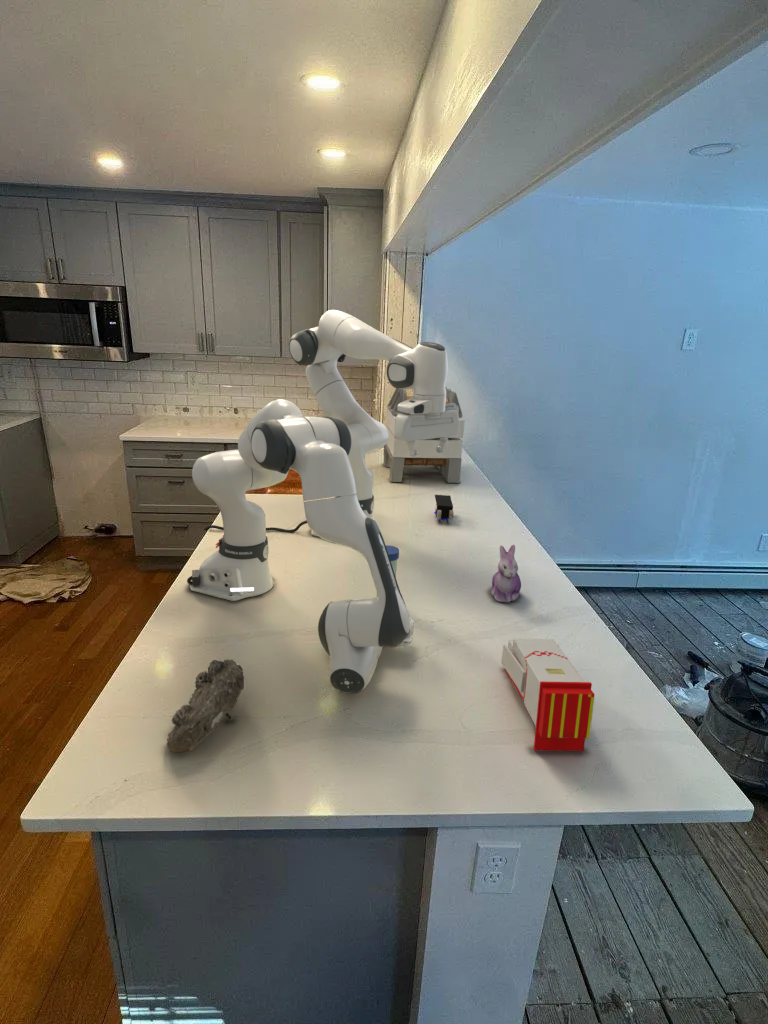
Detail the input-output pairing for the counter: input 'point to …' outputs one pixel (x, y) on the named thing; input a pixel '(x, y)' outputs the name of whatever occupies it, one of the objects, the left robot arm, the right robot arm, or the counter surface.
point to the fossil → (206, 705)
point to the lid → (393, 552)
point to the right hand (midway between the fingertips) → (426, 454)
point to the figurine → (506, 577)
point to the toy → (550, 693)
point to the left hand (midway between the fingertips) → (376, 609)
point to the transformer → (422, 445)
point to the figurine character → (443, 508)
